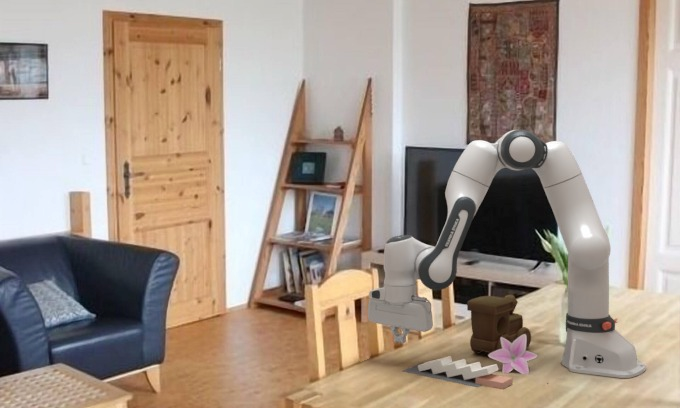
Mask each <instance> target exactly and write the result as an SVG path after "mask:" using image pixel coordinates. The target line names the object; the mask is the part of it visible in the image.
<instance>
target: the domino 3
mask: <svg viewBox="0 0 680 408" xmlns="http://www.w3.org/2000/svg"><path fill="white" fill-rule="evenodd" d="M466 364H467V363H466ZM481 367H482V363H481V362H480V361H477V362H472V363H469V364H467V365H465V366H463V367H460V368H458V369H455V370H450V371H446V374H447V377H452V376H456V375H461V374H465V373H469V372H473V371H475V370H477V369H479V368H481Z"/></svg>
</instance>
